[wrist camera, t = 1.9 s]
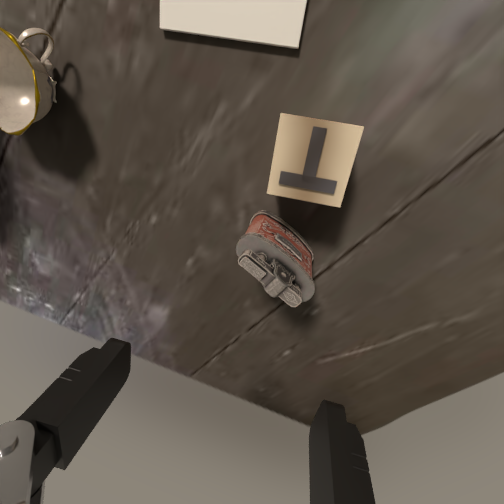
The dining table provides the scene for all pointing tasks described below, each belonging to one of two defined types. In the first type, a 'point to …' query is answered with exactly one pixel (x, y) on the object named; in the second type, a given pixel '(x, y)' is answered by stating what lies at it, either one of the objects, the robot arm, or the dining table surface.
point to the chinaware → (24, 82)
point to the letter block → (313, 159)
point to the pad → (237, 19)
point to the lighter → (277, 258)
